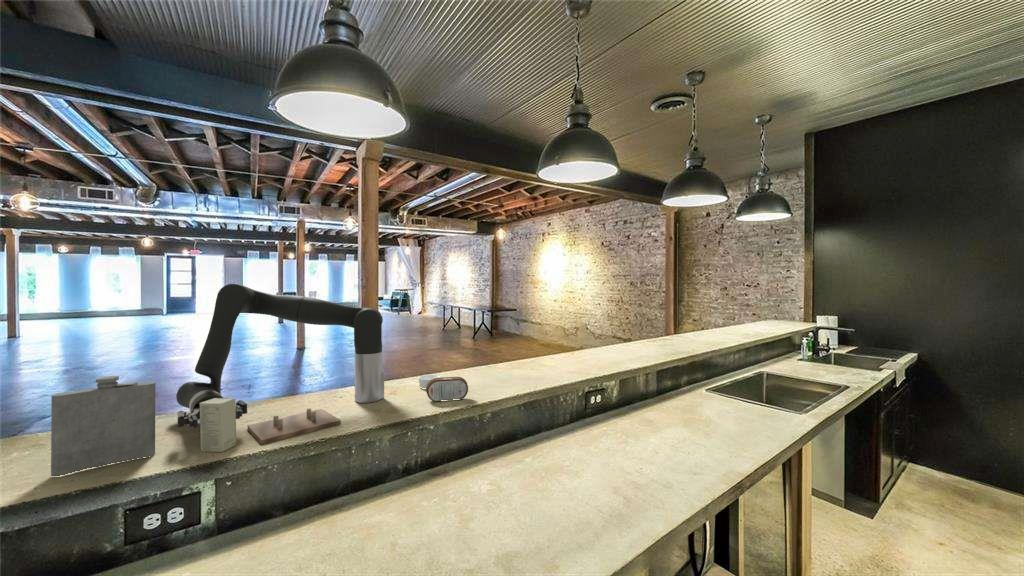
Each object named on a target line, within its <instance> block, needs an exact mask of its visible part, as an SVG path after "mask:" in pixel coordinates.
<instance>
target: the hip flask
mask: <svg viewBox="0 0 1024 576" xmlns="http://www.w3.org/2000/svg"><path fill="white" fill-rule="evenodd" d="M119 378H120V376H119V375H108V376H102V377H101V376H100V377H97V378H95V383H96V387H95V388H93V387H92V388H87V389H85V388H84V389H79V390H72V391H65V392H59V393H53V394H52V395H51V401H50V403H51V404H50V406H51V408H50V409H51V410H50V411H51V412H50V413H51V416H50V417H51V418H50V419H51V420H50V423H51V426H50V428H51V430H50V436H51V437H50V445H51V446H50V477H51V476H60V475H65V474H68V473H72V472H75V471H80V470H83V469H87V468H92V467H99V466H103V465H107V464H111V463H117V462H122V461H127V460H132V459H137V458H143V457H149V456H152V455H154V454H155V455H156V381H147V382H139V381H137V382H124V383H122V382H121V383H119V382H118V380H119ZM155 455H154V456H155ZM152 457H153V456H152ZM149 458H150V457H149Z"/></svg>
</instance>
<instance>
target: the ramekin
mask: <svg viewBox="0 0 1024 576" xmlns="http://www.w3.org/2000/svg"><path fill="white" fill-rule="evenodd" d="M421 376H422V377H421ZM440 377H441V375H438V374H423V375H420V376H419V377H418V383H419V388H420V387H422V388H426V387H427V384H428V383H429V382H430V381H431V380H432V379H434V378H440Z"/></svg>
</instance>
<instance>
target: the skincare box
mask: <svg viewBox="0 0 1024 576" xmlns="http://www.w3.org/2000/svg"><path fill="white" fill-rule="evenodd" d="M235 404H236V398H234V397H223V398H213V399H210V400H207V401H204V402H201V403H200V423H199V429H200V430H199V431H200V451H201V452H215V453H219V452H221V453H222V452H224V451H227V450H229V449H231V448H233V447H234V446H237V444H238V443H237V419H236V407H235Z"/></svg>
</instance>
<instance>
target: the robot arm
mask: <svg viewBox="0 0 1024 576" xmlns="http://www.w3.org/2000/svg"><path fill="white" fill-rule="evenodd" d="M215 299H216V300H215V304H214V305H215V306H214V309H213V310H214V311H213V314H212V319H211V322H210V327H209V330H208V334H207V337H206V340H205V343H204V345H203V348H202V350H201V352H200V355H199V358H198V360H197V363H196V364H195V367H194V372H195V373H196V374H197V375H198V374H199V375H201V376H204V377H207V378H209V380H210V383H209V382H201V381H187V382H185V383H183V384H182V385H181V386H180V387H179V388H178V389H177V393H176V397H175V398H176V402H177V403H178V405H180V406H181V407H184V408H186V409H189V412H187V411H184V410H179V411H178V412H177V427H178V428H182V427H184V426H185V425H187V426H188V427H189V428H193V429H196V428H198V425H199V424H200V403H201V402H204V401H207V400H210V399H213V398H224V397H223V396H222V395H221V394H222V393H221V391H222V389H221V388H222V387H221V384H222V376H223V371H224V368H225V365H226V362H227V361H228V358H229V356H230V352H231V348H232V347H231V346H232V340H233V339H232V338H233V331H234V327H235V324H236V321H237V319H238V317H239V316H240V314H255V315H257V314H258V315H265V316H272V317H275V318H279V319H283V320H286V321H289V322H290V321H291V322H295V323H301V324H306V325H316V326H342V327H343V326H344V327H347V328H348V327H349V328H352V329H353V345H354V402H356V403H360V404H362V403H363V404H368V403H374V402H378V401H380V400H381V399H385V372H384V371H383V341H382V339H383V338H382V337H383V336H382V335H383V334H382V333H383V329H382V328H383V326H382V325H383V321H384V320H383V315H382V313H381V312H380V311H379V310H378V309H376V308H373V307H356V306H349V305H344V304H339V303H336V302H332V301H329V300H325V299H321V298H320V299H319V298H315V297H310V296H303V295H293V294H291V295H289V294H284V295H283V294H280V295H279V294H271V293H267V292H263V291H260V290H256V289H253V288H250V287H247V286H245V285H243V284H240V283H228V284H225V285H224V286H222V287H221V288H220V289H219V291H218V292H217V295H216V298H215ZM235 407H236V420H240V419H241V417H243V415H245V414H247V413H248V403H246V402H245V401H243V400H241V399H240V400H237V401H235Z"/></svg>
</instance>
